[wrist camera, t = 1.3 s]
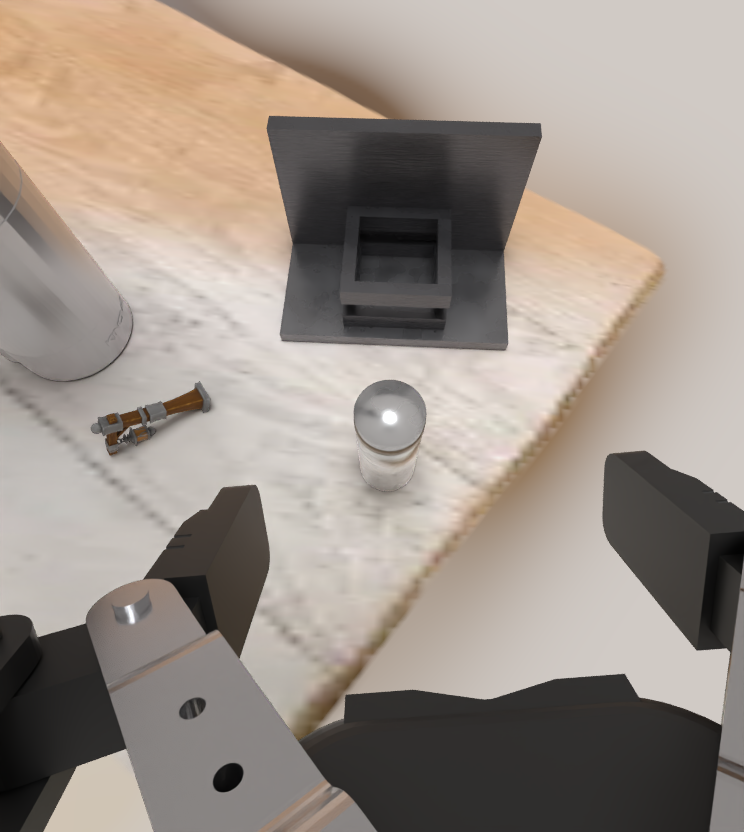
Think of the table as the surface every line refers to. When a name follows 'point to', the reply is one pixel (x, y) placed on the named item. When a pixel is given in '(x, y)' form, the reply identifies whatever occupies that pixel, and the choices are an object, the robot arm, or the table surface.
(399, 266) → the collar stand
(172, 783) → the robot arm
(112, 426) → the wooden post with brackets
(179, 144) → the table surface
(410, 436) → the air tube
